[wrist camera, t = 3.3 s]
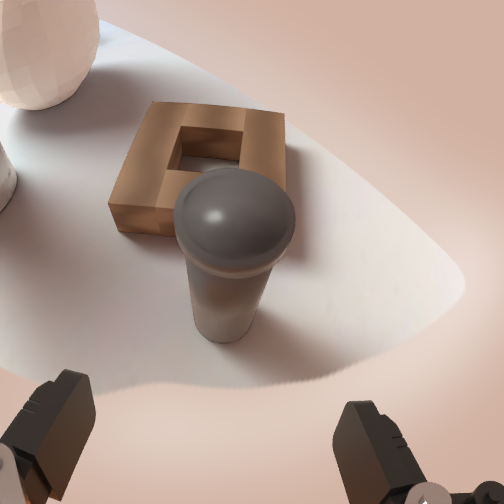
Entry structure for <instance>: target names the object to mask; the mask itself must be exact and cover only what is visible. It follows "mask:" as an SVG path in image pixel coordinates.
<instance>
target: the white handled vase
mask: <svg viewBox="0 0 504 504" xmlns="http://www.w3.org/2000/svg"><path fill="white" fill-rule="evenodd" d="M99 37H100V34H99V18H98V14H97V11H96V6H95V2H94V0H0V103H3V104H6V105H8V106H11V107H14V108H19V109H27V110H42V109H46V108H49V107H52V106H55V105H57V104H59V103H61V102H63V101H64V100H66V99H68V98H69V97H70V96H71V95H72V94H74V93H75V92H76V90H77V89H78V87H79V86H80V84H81V83H82V81H83V80H84V78H85V77H86V75H87V74H88V72H89V70H90V68H91V66H92V64H93V62H94V60H95V56H96V52H97V48H98V43H99Z"/></svg>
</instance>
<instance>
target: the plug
mask: <svg viewBox="0 0 504 504" xmlns="http://www.w3.org/2000/svg"><path fill="white" fill-rule="evenodd" d="M295 220H296V219H295V212H294V208H293V205H292V203H291V200H290V199H289V197H288V195H287V194H286V193H285V192H284V190H283V189H282V188H281V187H280V186H279V185H278V184H276V183H275V182H274V181H272V180H271V179H269V178H268V177H266V176H264V175H262V174H259V173H256V172H254V171H250V170H245V169H238V168H225V169H218V170H213V171H210V172H207V173H204V174H202V175H200V176H198V177H197V178H195V179H193V180H192V181H191V182H190V183H188V184H187V185H186V186H185V187H184V188H183V190H182V191H181V193H180V194H179V196H178V198H177V200H176V203H175V206H174V226H175V232H176V238H177V241H178V244H179V247H180V249H181V250H182V252H183V253H184V255H185V257H186V265H187V273H188V280H189V287H190V294H191V301H192V308H193V315H194V321H195V324H196V327H197V329H198V330H199V332H200V333H201V334H202V335H203V336H204V337H205V338H207V339H208V340H210V341H212V342H216V343H223V344H225V343H231V342H234V341H236V340H238V339H240V338H241V337H243V336H244V335H245V334H246V332H247V331H248V329H249V327H250V325H251V322H252V320H253V317H254V314H255V312H256V309H257V307H258V304H259V302H260V299H261V296H262V294H263V291H264V289H265V286H266V283H267V281H268V278H269V275H270V273H271V270H272V267H273V266H274V265H275V264H276V263H277V262H279V260H280V259H281V258H282V257H283V255H284V253H285V252H286V250H287V247H288V245H289V243H290V240H291V238H292V235H293V233H294V229H295Z"/></svg>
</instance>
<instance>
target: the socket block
mask: <svg viewBox="0 0 504 504" xmlns="http://www.w3.org/2000/svg"><path fill="white" fill-rule="evenodd" d="M182 155H185V156H197V157H208V158H218V159H228V160H237V161H239V169H245V170H250V171H254V172H256V173H259V174H262V175H264V176H266V177H268V178H269V179H271V180H272V181H274V182H275V183H276V184H278V185H279V186H280V187H281V188H282V189H283V190H284V192H285V193H286V159H285V120H284V113H277V112H270V111H263V110H255V109H247V108H238V107H229V106H218V105H206V104H192V103H174V102H152V104H151V106H150V108H149V110H148V112H147V114H146V116H145V118H144V120H143V122H142V124H141V126H140V128H139V130H138V133H137V135H136V137H135V139H134V141H133V143H132V146H131V148H130V150H129V152H128V155H127V157H126V159H125V161H124V164H123V166H122V168H121V171H120V173H119V176H118V178H117V181H116V183H115V186H114V188H113V191H112V193H111V196H110V198H109V201H108V205H109V208H110V210H111V213H112V216H113V218H114V221H115V224H116V226H117V229H118V231H123V232H133V233H143V234H152V235H162V236H171V237H176V232H175V226H174V206H175V203H176V200H177V198H178V196H179V194H180V193H181V191H182V190H183V188H184V187H185V186H186V185H187V184H188V183H190V182H191V181H192V180H193V179H195V178H197V177H198V176H200V175H202V174H204V173H202V172H191V171H180V170H178V168H179V165H180V161H181V158H182Z"/></svg>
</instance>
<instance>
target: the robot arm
mask: <svg viewBox="0 0 504 504" xmlns="http://www.w3.org/2000/svg"><path fill="white" fill-rule="evenodd" d="M16 183H17V175H16V172H15V170H14V168H13V166H12V164H11V162H10V160H9V158H8V156H7V155H6V153H5V151H4V148H3V146H2V144H1V142H0V212H1V211H2V210H3V208H4V207H5V206H6V204H7V203H8V202H9V200H10V198H11V197H12V195H13V192H14V190H15V187H16ZM95 416H96V412H95V406H94V401H93V396H92V391H91V386H90V380H89V377H88V375H86V374H83V373H79V372H75V371H71V370H67V369H65V370H63V371H62V372H61V374H60V375H59V376H58V378H57V379H56V380H55V382H53V381H47V382H46V383H44V384H43V385H41V386H39V387H38V388H37V389H36V390H35V391H34V393H33V394H32V395H31V397H30V398H29V401H27V402H26V403H25V405H24V406H23V409H21V410H20V412H19V413H18V414H17V416H16V417H15V419H14V420H13V421H12V423H11V424H10V426H9V427H8V428H7V430H6V431H5V433H4V434H3V436H2V437H1V439H0V504H46V502H47V499H48V497H50V498H53V499H56V500H58V501H61V500H62V497H63V495H64V492H65V490H66V488H67V485H68V483H69V481H70V478H71V476H72V474H73V471H74V469H75V466H76V464H77V462H78V460H79V457H80V455H81V453H82V451H83V449H84V446H85V444H86V442H87V440H88V438H89V435H90V433H91V431H92V429H93V427H94V423H95ZM333 451H334V454H335V458H336V461H337V464H338V467H339V471H340V474H341V477H342V480H343V484H344V487H345V490H346V493H347V496H348V500H349V503H350V504H504V486H503V485H502V484H500V483H498V482H495V481H486V482H483V483H481V484H480V485H479V486H478V487H477V488H476V489H475V491H474V492H473V493H458V494H457V493H455V494H450V493H449V492H448V491H447V490H446V489H445V488H444V487H442V486H441V485H439V484H436V483H432V482H427V480H426V478H425V476H424V475H423V473H422V471H421V469H420V467H419V465H418V463H417V461H416V460H415V458H414V456H413V454H412V452H411V450H410V449H409V447H407V443H406V441H405V439H404V438H402V434H401V432H400V430H399V428H398V426H397V425H396V424H395V423H394V422H393V421H392V420H391V419H390V418H389V417H387V416H386V415H385V414H384V415H380V414H379V412H378V410H377V408H376V406H375V405H374V403H373V402H372V401H370V400H369V401H349V402H347V404H346V405H345V408H344V410H343V413H342V415H341V418H340V420H339V423H338V425H337V427H336V430H335V432H334V435H333Z"/></svg>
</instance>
